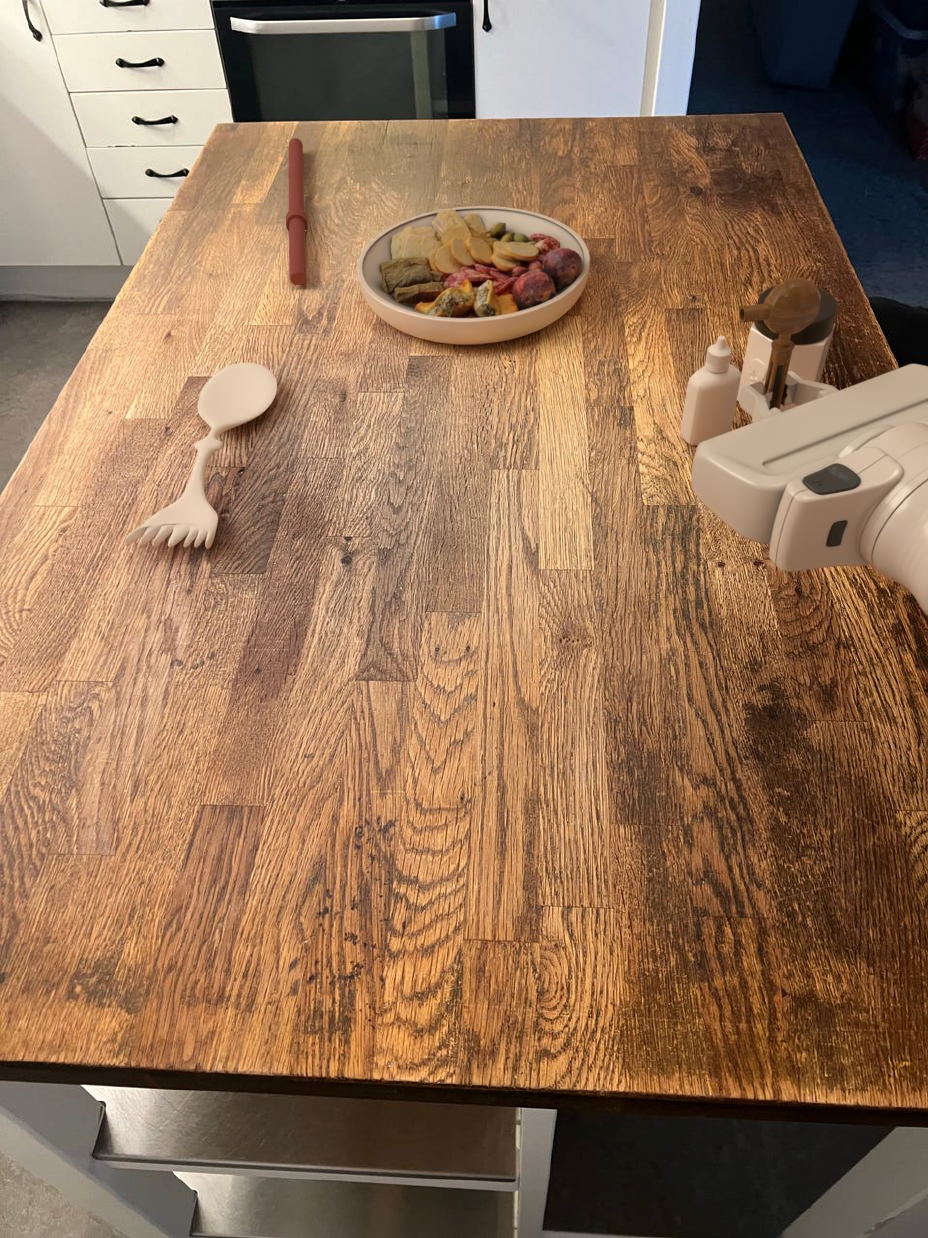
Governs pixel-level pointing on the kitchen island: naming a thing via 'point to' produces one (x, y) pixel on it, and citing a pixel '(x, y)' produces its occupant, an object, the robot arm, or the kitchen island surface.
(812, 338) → the jar
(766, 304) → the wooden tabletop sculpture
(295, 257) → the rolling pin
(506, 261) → the bowl
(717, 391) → the eye dropper bottle
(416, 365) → the kitchen island surface
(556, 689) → the kitchen island surface
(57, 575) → the kitchen island surface
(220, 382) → the spoon
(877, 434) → the robot arm
